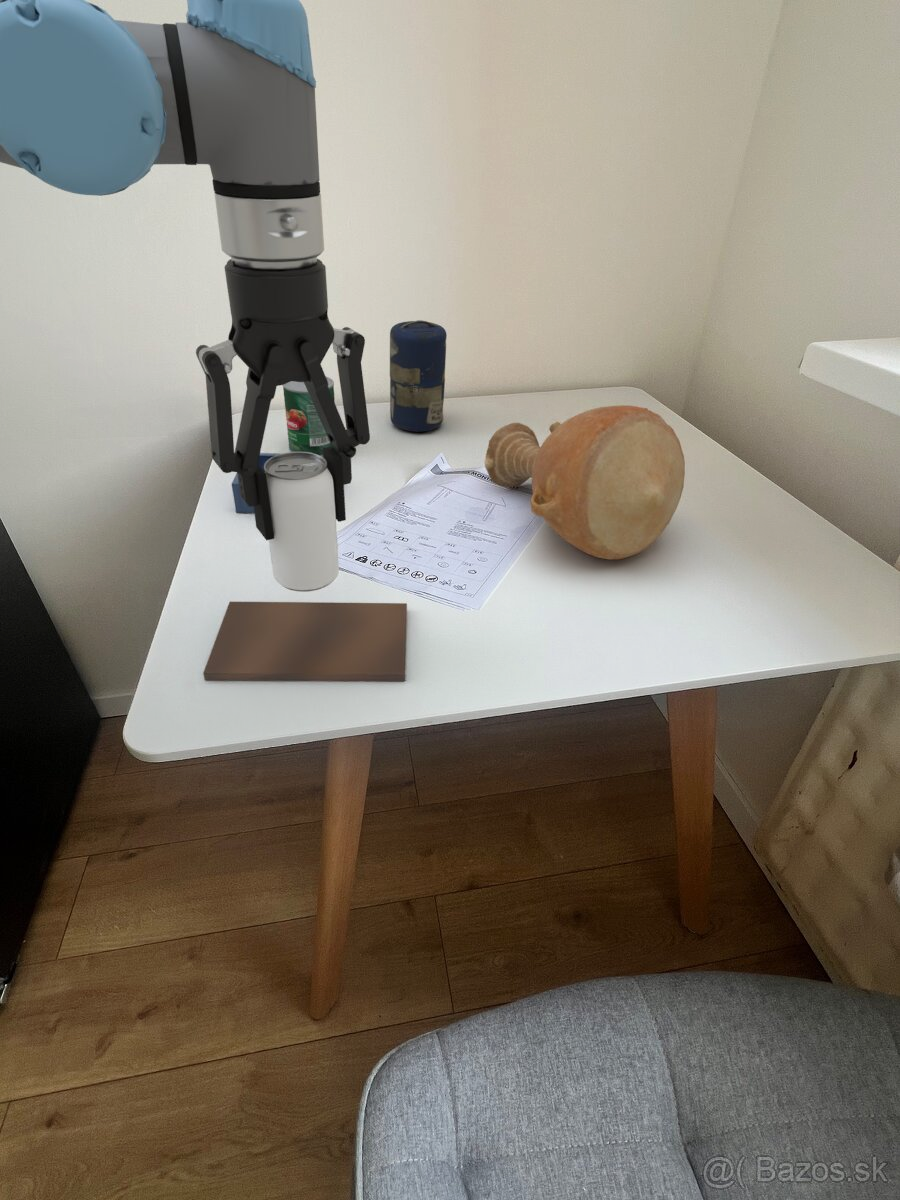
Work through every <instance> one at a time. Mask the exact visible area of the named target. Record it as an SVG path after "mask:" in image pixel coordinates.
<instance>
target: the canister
mask: <svg viewBox="0 0 900 1200" xmlns="http://www.w3.org/2000/svg"><path fill="white" fill-rule="evenodd" d="M447 337H448V335H447V330H446V329H445V328H444V327H443V326H442V325H440V324H438V323H434V322H431V321H427V320H422V319H419V320H409V321H402V322H398V323H396V324H394V325H393V326H392V327H391V328H390V331H389V379H390V380H389V392H390V393H389V405H390V406H389V417H390V421H391V423H392V424H393V425H394V426H395V427H397V428H399V429H401V430H404V431H409V432H420V433H421V432H422V433H423V432H428V431H433V430H435V429H438V427H440V426H441V425H442V423H443V421H444V403H445V385H446V361H447V360H446V359H447V358H446V357H447Z"/></svg>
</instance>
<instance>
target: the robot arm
mask: <svg viewBox="0 0 900 1200" xmlns="http://www.w3.org/2000/svg"><path fill="white" fill-rule="evenodd" d="M186 5H187V12H186V13H185V18H186V22H175V23H165V22H164V23H162V24H159V23H150V22H138V21H129V20H120V19H119V20H117V19H115V18H113V17H112V16H111V14H110V13H108V11H107V10H105V9H103V8H102V7H100V6H98V5H96V4H93V3H91V2H89V1H86V0H0V164H1V163H2V164H5V165H9V166H12V167H16V168H21V169H23V170H25V171H26V172H28V174H31V175H33V176H34V177H36V178H38V179H39V180H40V181H42V182H44V184H47V185H49V186H51V187H53V188H57V189H59V190H61V191H64V192H67V193H71V194H75V195H84V196H97V197H98V196H101V197H102V196H110V195H113V194H118V193H120V192H123V191H125V190H126V189H128V188H129V187H130V186H132V185H134V184H136V183H138V182H139V181H141V180H142V179H143V178H145V176H147V175H148V174H149V172H151V170H152V167H153V166H154V165H186V166H197V165H208V166H209V168H210V172H211V176H212V186H213V192H214V193H213V194H214V200H215V209H216V215H217V224H218V230H219V231H218V232H219V240H220V246H221V247H220V248H221V251H222V252H223V253H224V254H225V255H226V256H228V257H230V259H229V260H227V261H226V264H225V265H224V275H225V281H226V288H227V296H228V303H229V309H230V310H229V311H230V315H231V327H230V330H229V333H228V338H227V339H226V340H225V341H222V342H219V343H216V344H215V345H212V346H210V347H209V346H208V345H206V344H200V345H199V346H198V347H197V348H196V350H195V355H196V358H197V360H198V362H199V364H200V366H201V369H202V372H203V373H204V375H205V385H206V399H207V413H208V425H209V435H210V437H209V440H210V451H211V458H212V460H213V461H214V463H215V464H216V465H217V466H218V468H219V469H220V470H221V471H222V472H223V473H224V474H230V473H237V474H238V481H239V486H240V494H241V497H242V499H243V500H244V501H245V503H246V504H247V505H248V507H252V506H253V508H254V513H253V514H254V521H255V527H256V529H257V530H258V532H259V533H260V535H261V536H262V537H263V538H264V540H265V541H269V540H271V539H274V531H273V524H272V516H271V508H270V500H269V493H268V485H267V477H266V473H265V472H264V471H263V470H262V469H261V468H260V466H259V465H258V460H259V455H260V453H261V451H262V446H263V440H264V437H265V436H264V435H265V431H266V426H267V421H268V417H269V413H270V412H269V411H270V407H271V402H272V400H273V399H274V398H275V395H276V390H277V387H278V386H283V385H284V384H286V383H288V382H290V381H295V382H304V384H305V386H306V388H307V391H308V393H309V395H310V397H311V400H312V402H313V404H314V407H315V409H316V411H317V414H318V416H319V418H320V421H321V423H322V425H323V427H324V430H325V432H326V434H327V437H328V439H329V441H330V443H331V444H332V448H331V447H326V448H322V449H323V458H324V459H325V460H326V461H327V468H328V470H329V472H330V473H331V475H332V478H333V485H334V499H335V513H336V522H338V523H340V522H343V521H347V517H346V499H345V486H346V485H350V484H351V483H352V479H353V475H352V474H353V473H352V458H353V457H355V455H356V454H357V448H356V447H357V446H359V445H367V444H368V443H369V441H370V440H371V435H370V434H371V433H370V426H369V425H370V424H369V417H368V409H367V400H366V394H365V393H366V392H365V383H364V375H363V366H362V359H363V354H364V349H365V344H366V339H365V337H364V335H363V334H362V333H360V332H358V331H356V330H354V329H353V328H351V327H348V326H345V327H343V328H335V327H333V325H332V323H331V321H330V319H329V316H328V313H329V312H328V311H329V301H328V299H329V298H328V286H327V285H328V284H327V268H326V265H325V264H324V263H323V261H322V260H321V259H319V258H318V257H319V256H321V255H322V254H323V252H324V251H325V241H324V223H323V209H322V194H321V183H320V180H321V179H320V162H319V143H318V123H317V106H316V105H317V104H316V102H317V101H316V88H317V81H316V79H315V75H314V66H313V59H312V58H313V57H312V48H311V41H310V40H311V39H310V31H309V20H308V16H307V15H308V14H307V12H306V9H305V7H304V5H303V4H302V2H301V0H186ZM331 345H332V350H333V352H334V353H335V354H336V364H337V371H338V379H339V386H340V393H341V398H342V407H343V414H344V420H345V424H344V422H343V420H342V417H341V415H340V412H339V409H338V407H337V405H336V401H335V402H334V400H333V398H332V395H331V393H330V390H329V388H328V381H327V379H326V377H327V376H326V374H325V371H324V368H323V367H322V365H321V364H322V362H323V360H324V359H325V356H326V355H327V353H328V351H329V349H330V347H331ZM236 356H237V357H238V358H239V359H240V360H241V361H242V362H243V363H244V365H246V366H247V368H248V370H247V375H246V380H245V384H246V390H245V391H246V392H245V398H244V402H243V408H242V413H241V418H240V424H239V428H238V433H237V439H236V443H235V444H234V442H235V441H234V429H233V428H234V427H233V410H232V394H231V392H232V391H231V383H230V379H229V377H228V375H229V374H230V373H231V372H232V370H233V359H234V358H235V357H236Z"/></svg>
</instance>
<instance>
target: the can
mask: <svg viewBox="0 0 900 1200" xmlns="http://www.w3.org/2000/svg"><path fill="white" fill-rule="evenodd" d="M264 470H265V473H266V477H267V485H268V493H269V500H270V508H271V516H272V524H273V531H274V539H271V540H268V545H269V553H270V560H271V566H272V574H273V578H274V580H275V582H277V583H278V585H280V586H282V587H283V588H285V589H287V590H289V591H294V592H299V593H300V592H301V593H303V592H305V593H306V592H307V593H308V592H313V591H318V590H321V589H324V588H326V587H329V585H331V584H332V583H333V582H334V581H335V580H336V579H337V578H338V577H339V572H340V565H339V547H338V546H339V544H338V534H337V533H338V531H337V529H338V528H337V520H336V513H335V499H334V485H333V478H332V475H331V473H330V472H329V470H328V468H327V461H326V460H325V459H324V458H323V457H321V456H319V455H317V454H314V453H309V452H290V451H289V452H284V453H281V454H279V455H276V456H274V457H272V458H270V459H269V460H267V461H266V463H265V464H264Z"/></svg>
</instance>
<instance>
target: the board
mask: <svg viewBox="0 0 900 1200" xmlns="http://www.w3.org/2000/svg"><path fill="white" fill-rule="evenodd" d="M407 620H408V604H407V602H405V603H404V602H324V601H323V602H322V601H321V602H318V601H317V602H315V601H314V602H313V601H309V602H308V601H229V602H228V605H227V608H226V610H225V613H224V616H223V619H222V621H221V623H220V627H219V629H218V632H217V634H216V637H215V640H214V643H213V646H212V648H211V651H210V654H209V656H208V659H207V661H206V663H205V667H204V670H203V672H202V674H203V679H204V681H272V682H273V681H275V682H276V681H279V682H281V681H283V682H284V681H285V682H286V681H287V682H289V681H290V682H292V681H294V682H295V681H296V682H299V681H301V682H302V681H303V682H304V681H306V682H312V681H314V682H405V681H406V668H407V667H406V666H407V664H406V662H407V625H408V624H407V622H408V621H407Z"/></svg>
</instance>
